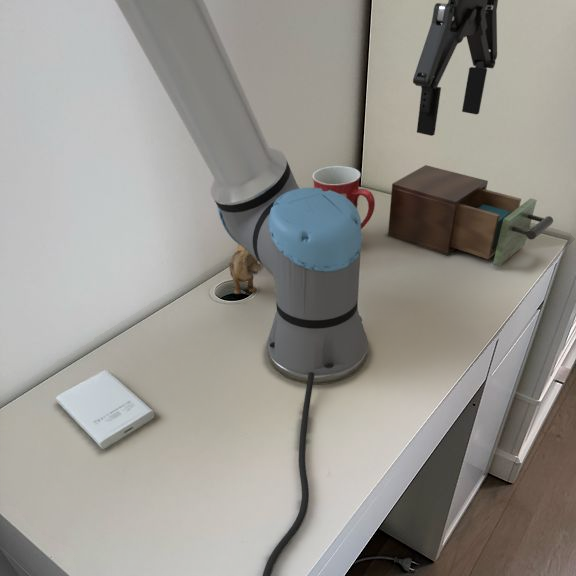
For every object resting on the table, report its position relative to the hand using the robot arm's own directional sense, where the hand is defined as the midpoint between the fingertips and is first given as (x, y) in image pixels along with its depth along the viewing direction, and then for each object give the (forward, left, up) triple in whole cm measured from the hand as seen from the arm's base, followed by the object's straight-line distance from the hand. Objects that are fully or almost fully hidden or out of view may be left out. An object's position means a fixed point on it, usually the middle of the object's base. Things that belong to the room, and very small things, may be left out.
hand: (448, 123), depth 87 cm
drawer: (+6, -10, -23) cm, 26 cm away
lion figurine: (-24, +25, -24) cm, 42 cm away
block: (+7, -8, -22) cm, 24 cm away
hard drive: (-61, +23, -24) cm, 70 cm away
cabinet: (+9, +3, -24) cm, 26 cm away
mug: (-3, +17, -24) cm, 30 cm away
